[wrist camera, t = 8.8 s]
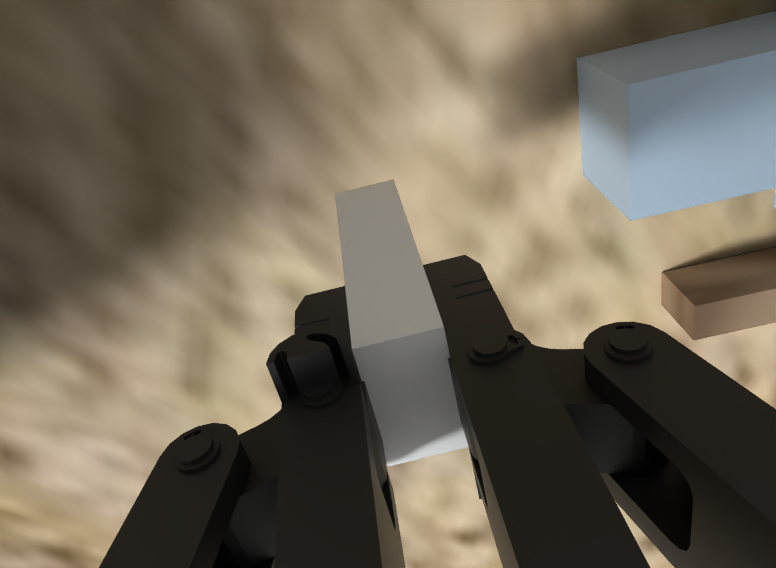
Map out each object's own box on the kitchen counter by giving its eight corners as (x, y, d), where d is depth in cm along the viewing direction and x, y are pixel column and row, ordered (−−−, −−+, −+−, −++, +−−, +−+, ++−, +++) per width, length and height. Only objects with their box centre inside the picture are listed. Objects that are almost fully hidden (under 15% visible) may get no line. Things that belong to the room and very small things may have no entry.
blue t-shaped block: (586, 249, 23) (631, 304, 20) (570, -47, 18) (626, -42, 15) (853, 188, 23) (947, 234, 19) (911, -130, 18) (1051, -145, 14)
